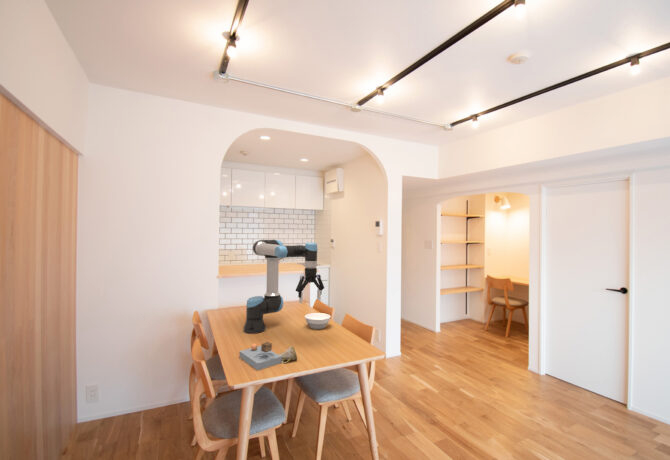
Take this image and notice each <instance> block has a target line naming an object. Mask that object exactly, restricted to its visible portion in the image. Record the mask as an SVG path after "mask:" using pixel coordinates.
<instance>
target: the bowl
mask: <svg viewBox="0 0 670 460" xmlns="http://www.w3.org/2000/svg"><path fill="white" fill-rule="evenodd" d="M331 317H332V316H331V315H330V314H328V313H322V312H311V313H307V314H305V315H304V319H305V322H306V323H307V325H308V327H309V328H310V329H311V330H312V329H313V330H323V329H325V328H326V326H327V325H328V324H329V323H330V319H331Z"/></svg>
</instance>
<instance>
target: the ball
mask: <svg viewBox="0 0 670 460" xmlns="http://www.w3.org/2000/svg"><path fill="white" fill-rule="evenodd" d="M257 347H258V345H257V344H256V343H252V344H250V348H251V349H252V350H256V349H257Z"/></svg>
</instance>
